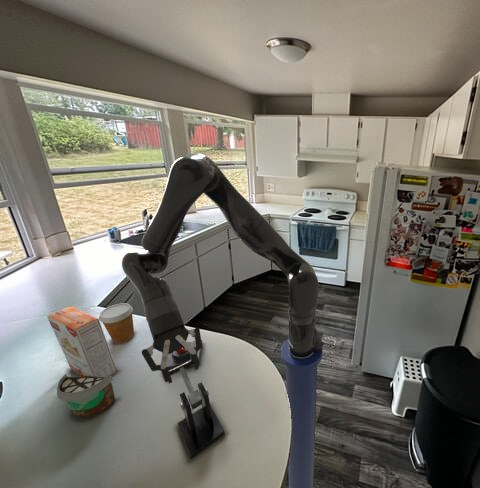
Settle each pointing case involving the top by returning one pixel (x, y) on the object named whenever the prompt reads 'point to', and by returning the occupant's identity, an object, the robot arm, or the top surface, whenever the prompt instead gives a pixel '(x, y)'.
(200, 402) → the lever
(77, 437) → the top surface
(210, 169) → the robot arm
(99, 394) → the food container
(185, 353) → the button box
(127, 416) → the top surface
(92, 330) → the cracker box
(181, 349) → the button
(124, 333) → the orange tub white lid
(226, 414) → the top surface
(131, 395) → the top surface
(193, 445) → the bracket
